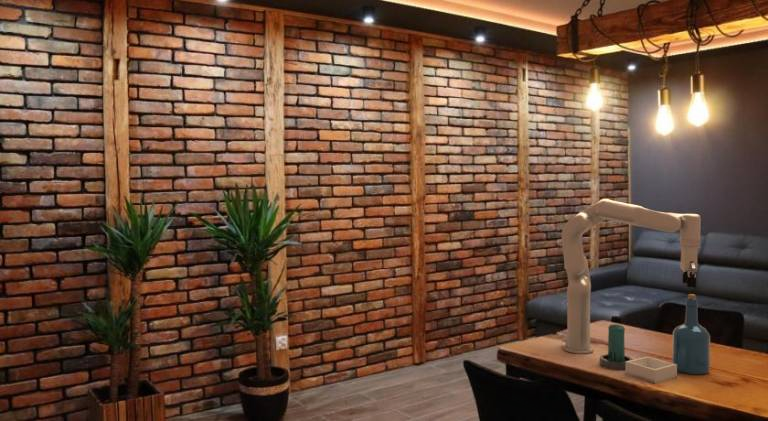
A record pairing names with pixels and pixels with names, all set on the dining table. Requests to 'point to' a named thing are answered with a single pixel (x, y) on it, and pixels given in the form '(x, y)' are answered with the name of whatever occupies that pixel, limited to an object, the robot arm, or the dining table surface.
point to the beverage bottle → (616, 340)
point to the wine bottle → (691, 342)
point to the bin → (651, 369)
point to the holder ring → (613, 363)
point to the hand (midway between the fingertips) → (689, 284)
